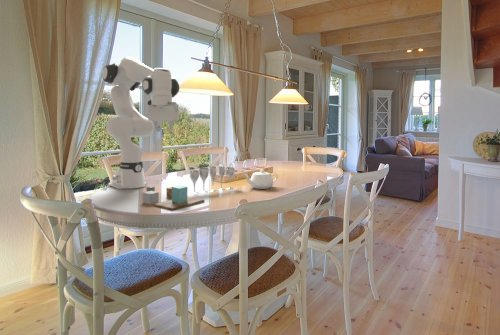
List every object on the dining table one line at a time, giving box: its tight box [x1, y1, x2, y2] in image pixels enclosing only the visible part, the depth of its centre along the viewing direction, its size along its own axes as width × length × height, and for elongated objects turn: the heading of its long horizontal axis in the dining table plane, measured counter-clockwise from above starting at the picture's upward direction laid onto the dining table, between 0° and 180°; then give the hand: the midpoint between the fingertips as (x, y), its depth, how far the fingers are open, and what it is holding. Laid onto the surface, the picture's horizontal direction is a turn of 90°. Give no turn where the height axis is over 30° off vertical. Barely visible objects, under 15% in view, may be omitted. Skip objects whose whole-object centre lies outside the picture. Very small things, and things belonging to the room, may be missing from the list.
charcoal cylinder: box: [145, 186, 156, 192], centre depth 173 cm, size 4×4×5 cm
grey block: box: [142, 190, 160, 205], centre depth 162 cm, size 5×5×5 cm
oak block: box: [165, 186, 173, 200], centre depth 173 cm, size 5×5×5 cm
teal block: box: [171, 185, 188, 204], centre depth 161 cm, size 5×5×7 cm
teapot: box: [242, 168, 279, 190], centre depth 201 cm, size 22×14×11 cm, turn 112°
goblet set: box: [189, 165, 236, 195], centre depth 190 cm, size 28×6×13 cm, turn 127°
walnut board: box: [153, 195, 205, 211], centre depth 161 cm, size 12×20×1 cm, turn 144°
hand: (163, 130), depth 172 cm, fingers open, 8 cm apart
